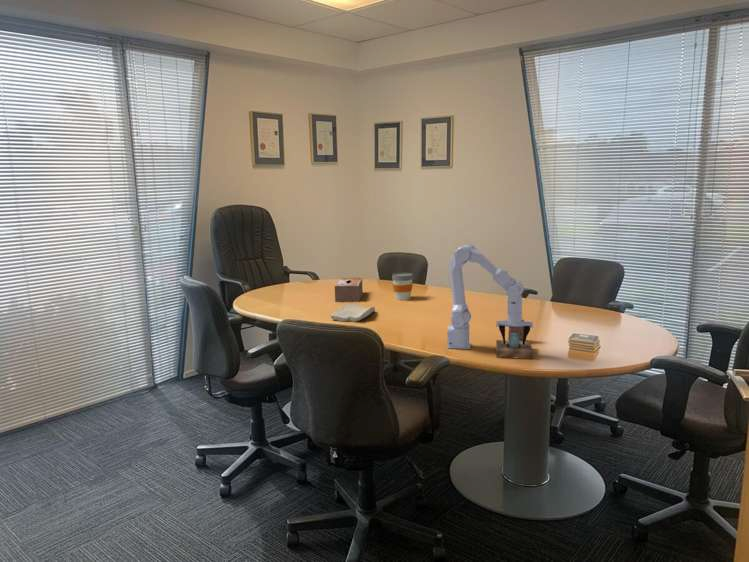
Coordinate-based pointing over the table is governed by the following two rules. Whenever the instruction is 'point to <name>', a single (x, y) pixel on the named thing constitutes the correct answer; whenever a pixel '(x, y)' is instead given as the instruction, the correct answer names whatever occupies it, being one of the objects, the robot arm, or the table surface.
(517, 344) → the peg
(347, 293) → the tissue box cover
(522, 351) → the socket block
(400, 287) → the reusable coffee cup
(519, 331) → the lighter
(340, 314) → the folded grey cloth
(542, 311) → the table surface
